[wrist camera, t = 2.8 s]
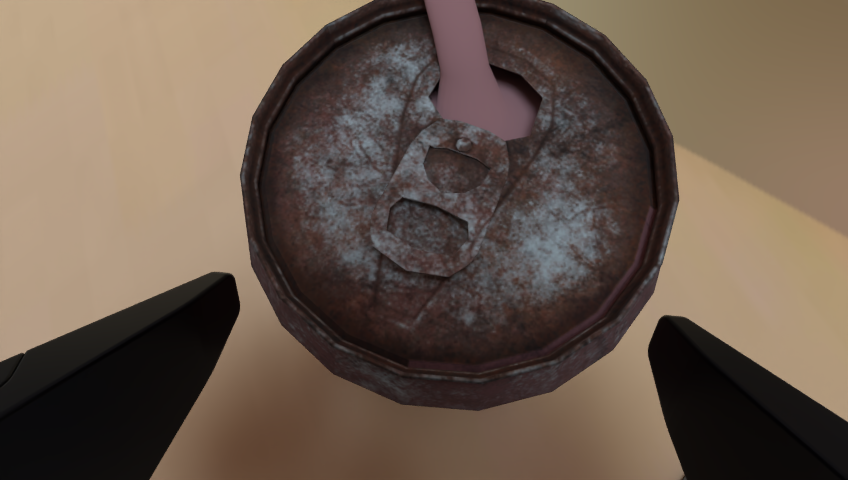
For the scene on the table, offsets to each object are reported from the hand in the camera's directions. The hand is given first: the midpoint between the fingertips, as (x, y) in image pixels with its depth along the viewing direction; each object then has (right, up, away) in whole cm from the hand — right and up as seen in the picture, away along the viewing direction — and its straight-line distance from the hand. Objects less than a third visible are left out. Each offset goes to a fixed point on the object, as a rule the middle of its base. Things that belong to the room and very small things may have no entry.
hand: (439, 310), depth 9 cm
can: (+1, -1, +10) cm, 10 cm away
